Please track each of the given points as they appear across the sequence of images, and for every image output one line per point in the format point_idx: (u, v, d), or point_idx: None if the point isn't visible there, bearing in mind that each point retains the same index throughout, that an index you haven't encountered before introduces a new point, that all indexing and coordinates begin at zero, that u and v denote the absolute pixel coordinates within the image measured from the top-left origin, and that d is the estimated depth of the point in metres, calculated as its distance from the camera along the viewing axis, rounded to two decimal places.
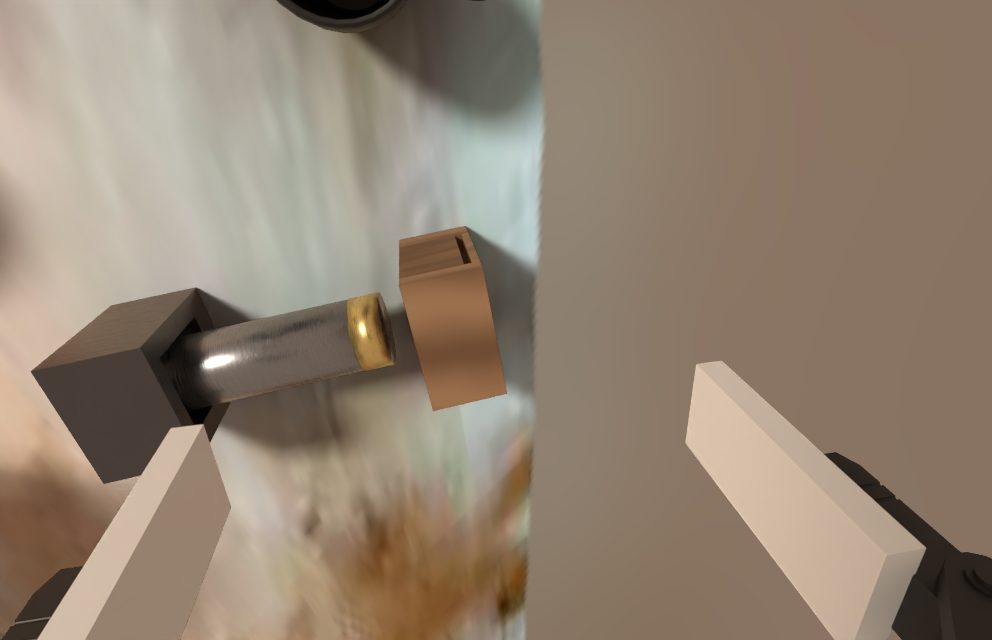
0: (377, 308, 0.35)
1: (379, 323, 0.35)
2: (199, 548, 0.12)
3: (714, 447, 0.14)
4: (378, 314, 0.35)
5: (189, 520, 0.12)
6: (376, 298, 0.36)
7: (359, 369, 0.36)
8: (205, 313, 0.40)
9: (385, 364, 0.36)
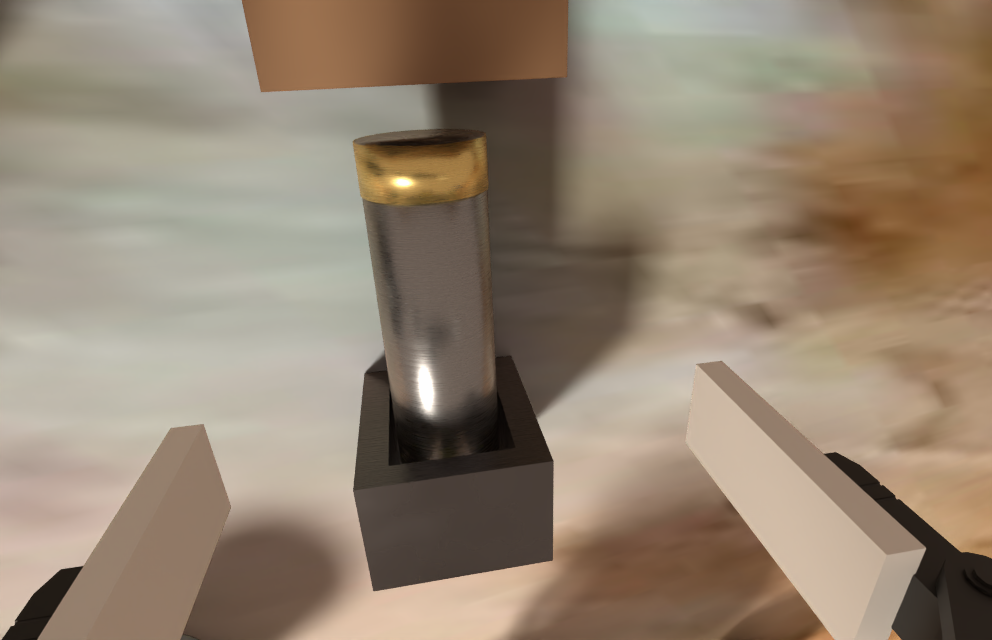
0: (362, 146, 0.19)
1: (382, 148, 0.19)
2: (199, 548, 0.12)
3: (714, 447, 0.14)
4: (370, 146, 0.19)
5: (189, 521, 0.12)
6: (354, 143, 0.20)
7: (473, 202, 0.20)
8: None
9: (472, 154, 0.20)
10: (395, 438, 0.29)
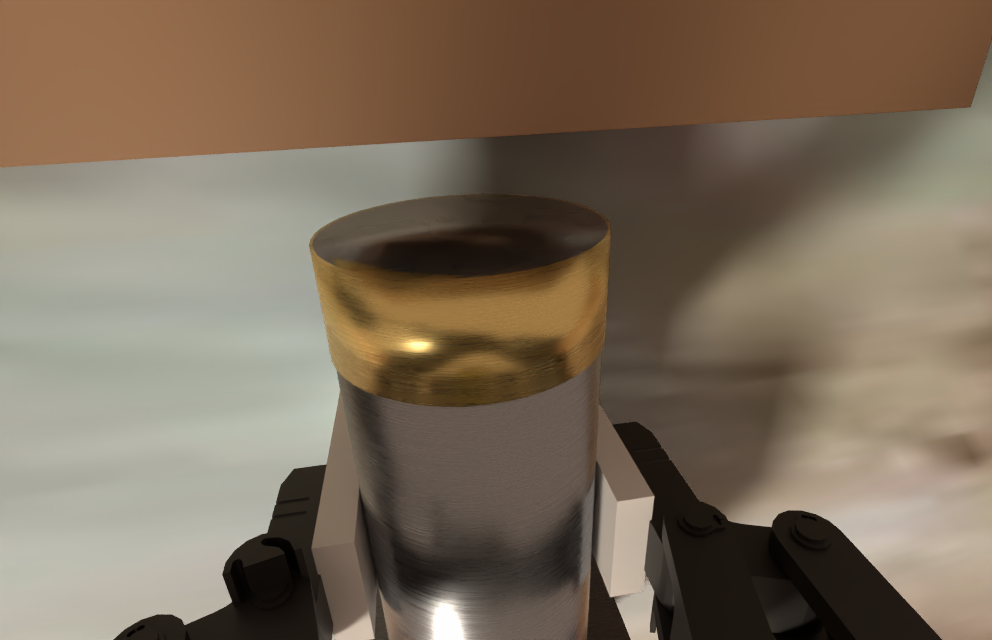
0: (328, 264, 0.08)
1: (375, 281, 0.07)
2: None
3: None
4: (345, 270, 0.08)
5: None
6: None
7: (583, 380, 0.09)
8: None
9: (591, 281, 0.08)
10: None
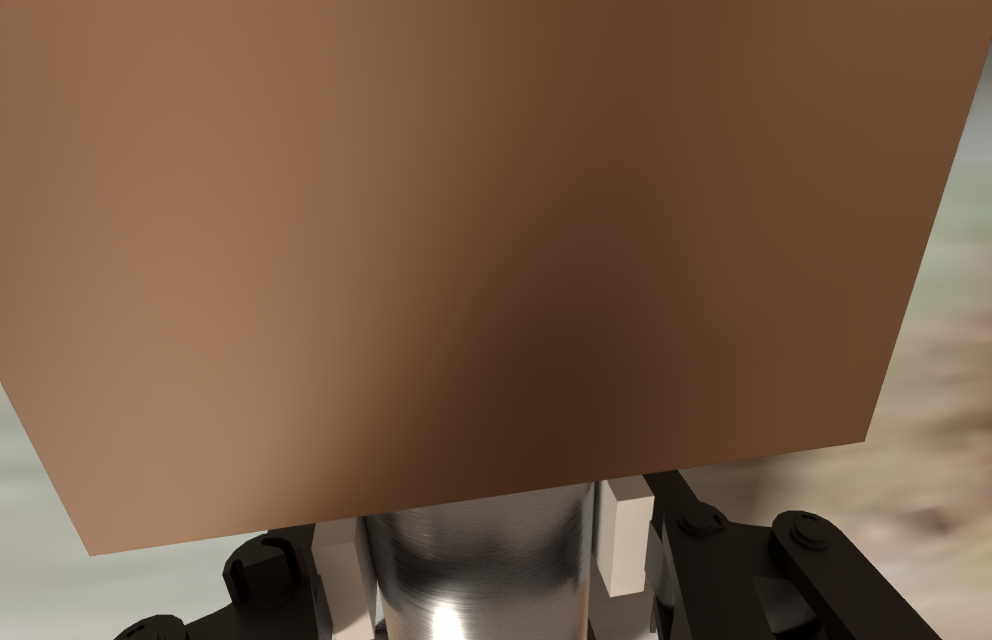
0: None
1: None
2: None
3: None
4: None
5: None
6: None
7: None
8: None
9: None
10: None
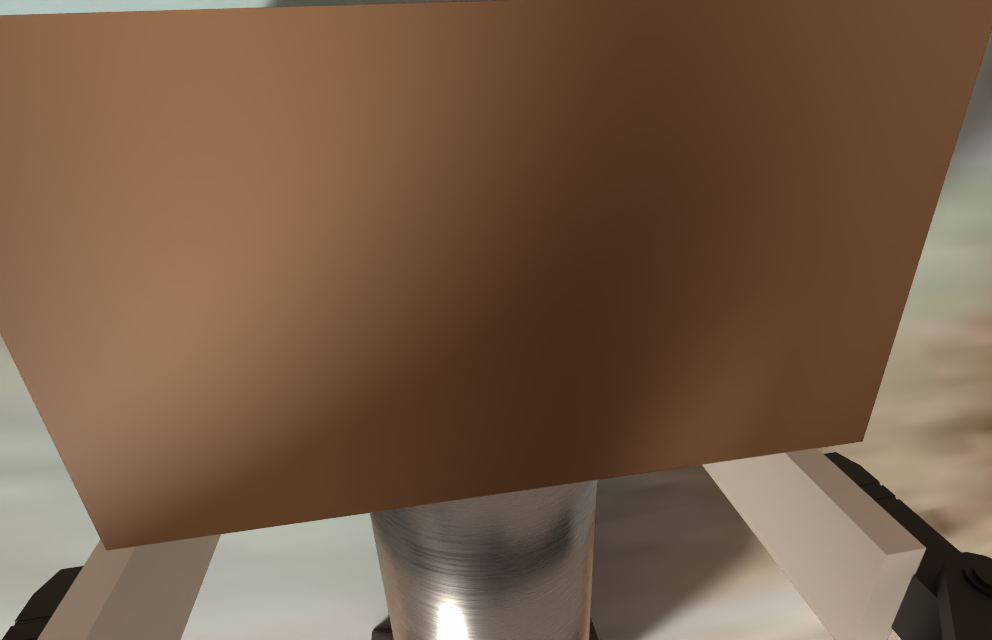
0: None
1: None
2: (199, 548, 0.12)
3: None
4: None
5: None
6: None
7: None
8: None
9: None
10: None
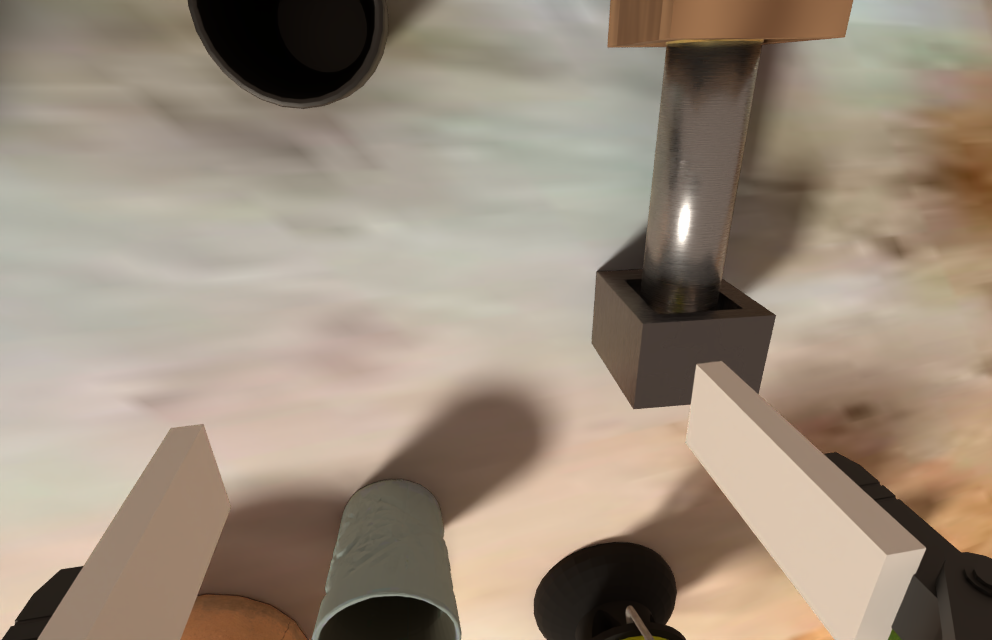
0: None
1: None
2: (199, 548, 0.12)
3: (714, 446, 0.14)
4: None
5: (189, 520, 0.12)
6: None
7: (759, 46, 0.29)
8: (623, 271, 0.40)
9: None
10: None
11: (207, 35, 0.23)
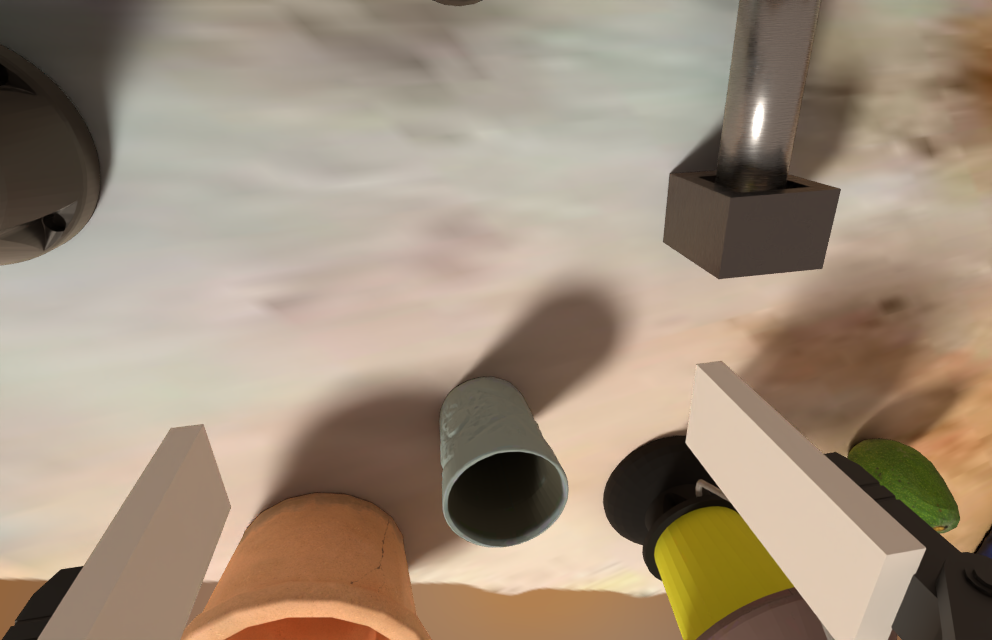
0: None
1: None
2: (199, 548, 0.12)
3: (713, 446, 0.14)
4: None
5: (189, 520, 0.12)
6: None
7: None
8: (693, 172, 0.46)
9: None
10: None
11: None
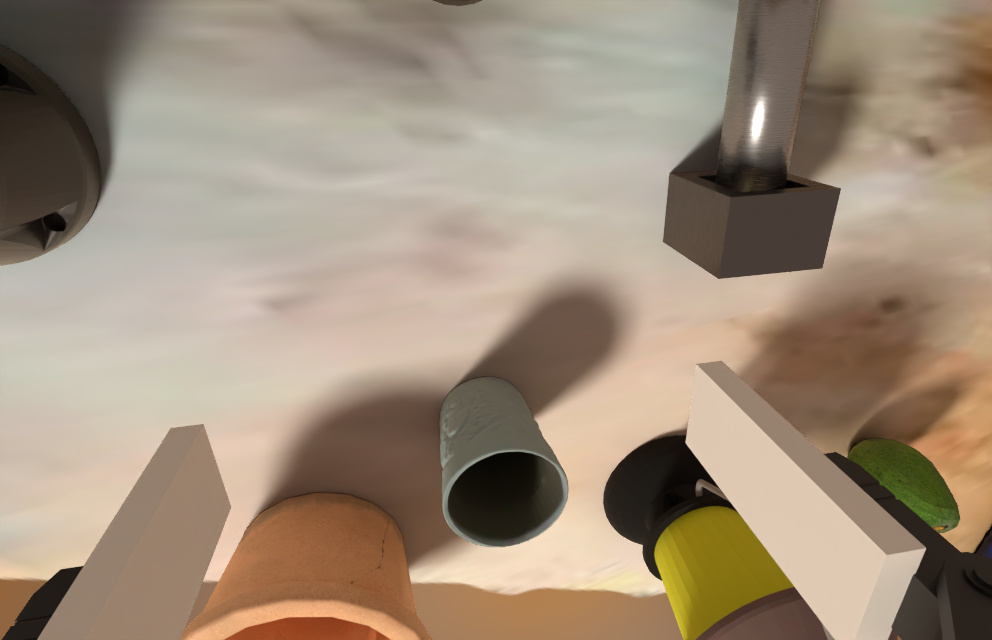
0: None
1: None
2: (199, 548, 0.12)
3: (713, 446, 0.14)
4: None
5: (189, 520, 0.12)
6: None
7: None
8: (693, 172, 0.46)
9: None
10: None
11: None
